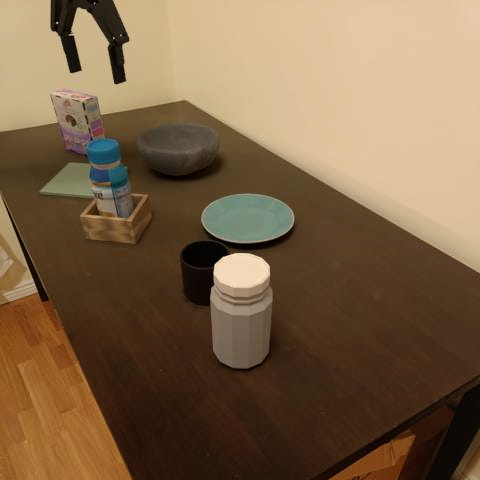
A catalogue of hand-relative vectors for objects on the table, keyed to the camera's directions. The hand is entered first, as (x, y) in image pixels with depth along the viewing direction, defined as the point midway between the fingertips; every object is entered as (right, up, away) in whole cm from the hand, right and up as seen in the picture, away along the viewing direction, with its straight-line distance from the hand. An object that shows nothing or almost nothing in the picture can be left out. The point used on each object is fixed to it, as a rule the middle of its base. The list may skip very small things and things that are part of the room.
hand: (97, 77), depth 90 cm
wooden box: (+1, -29, +12) cm, 32 cm away
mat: (-13, -13, +29) cm, 34 cm away
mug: (+23, -45, -3) cm, 50 cm away
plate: (+32, -29, +13) cm, 45 cm away
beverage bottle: (+1, -29, +12) cm, 32 cm away
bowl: (+13, -7, +35) cm, 38 cm away
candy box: (-18, +1, +44) cm, 47 cm away
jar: (+30, -57, -16) cm, 66 cm away
